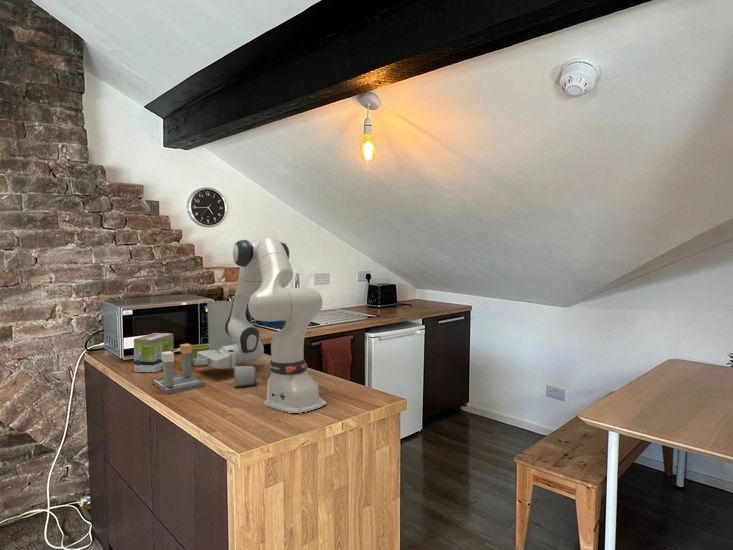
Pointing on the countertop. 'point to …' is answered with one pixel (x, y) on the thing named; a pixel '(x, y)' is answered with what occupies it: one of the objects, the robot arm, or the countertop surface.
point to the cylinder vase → (218, 324)
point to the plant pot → (196, 349)
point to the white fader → (168, 368)
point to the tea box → (151, 351)
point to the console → (179, 384)
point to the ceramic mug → (244, 375)
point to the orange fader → (186, 359)
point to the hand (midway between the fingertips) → (193, 361)
